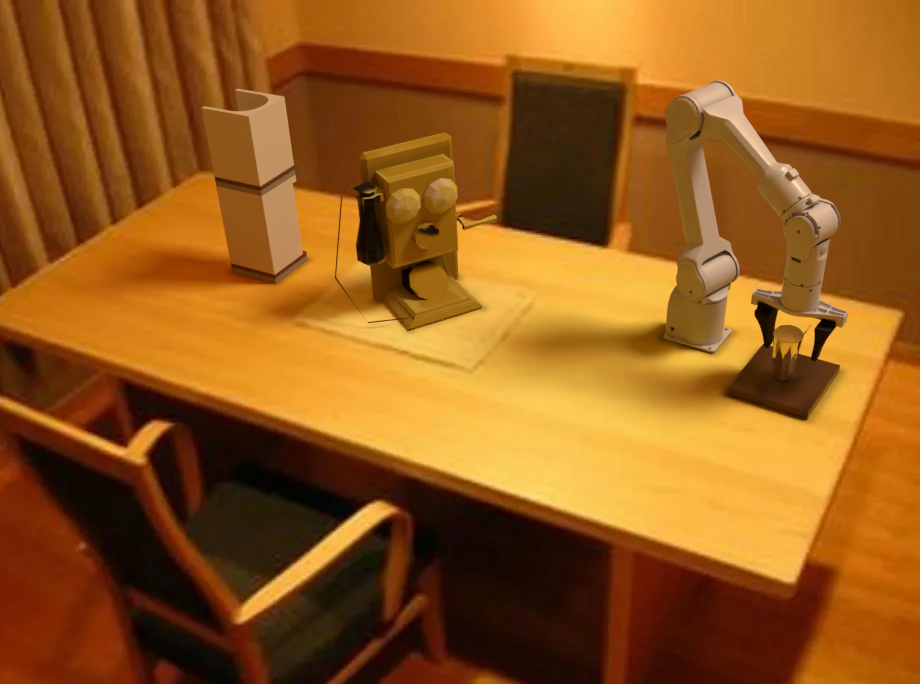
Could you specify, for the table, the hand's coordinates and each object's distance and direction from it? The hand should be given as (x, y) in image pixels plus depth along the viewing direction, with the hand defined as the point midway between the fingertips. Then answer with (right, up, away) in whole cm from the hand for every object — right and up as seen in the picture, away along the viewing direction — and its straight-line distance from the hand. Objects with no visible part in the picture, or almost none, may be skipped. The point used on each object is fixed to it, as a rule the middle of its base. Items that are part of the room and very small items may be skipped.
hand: (791, 351), depth 174 cm
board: (-1, -5, +2) cm, 6 cm away
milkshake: (-1, -4, +1) cm, 4 cm away
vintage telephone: (-59, +10, +31) cm, 67 cm away
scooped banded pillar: (-90, +19, +48) cm, 104 cm away
